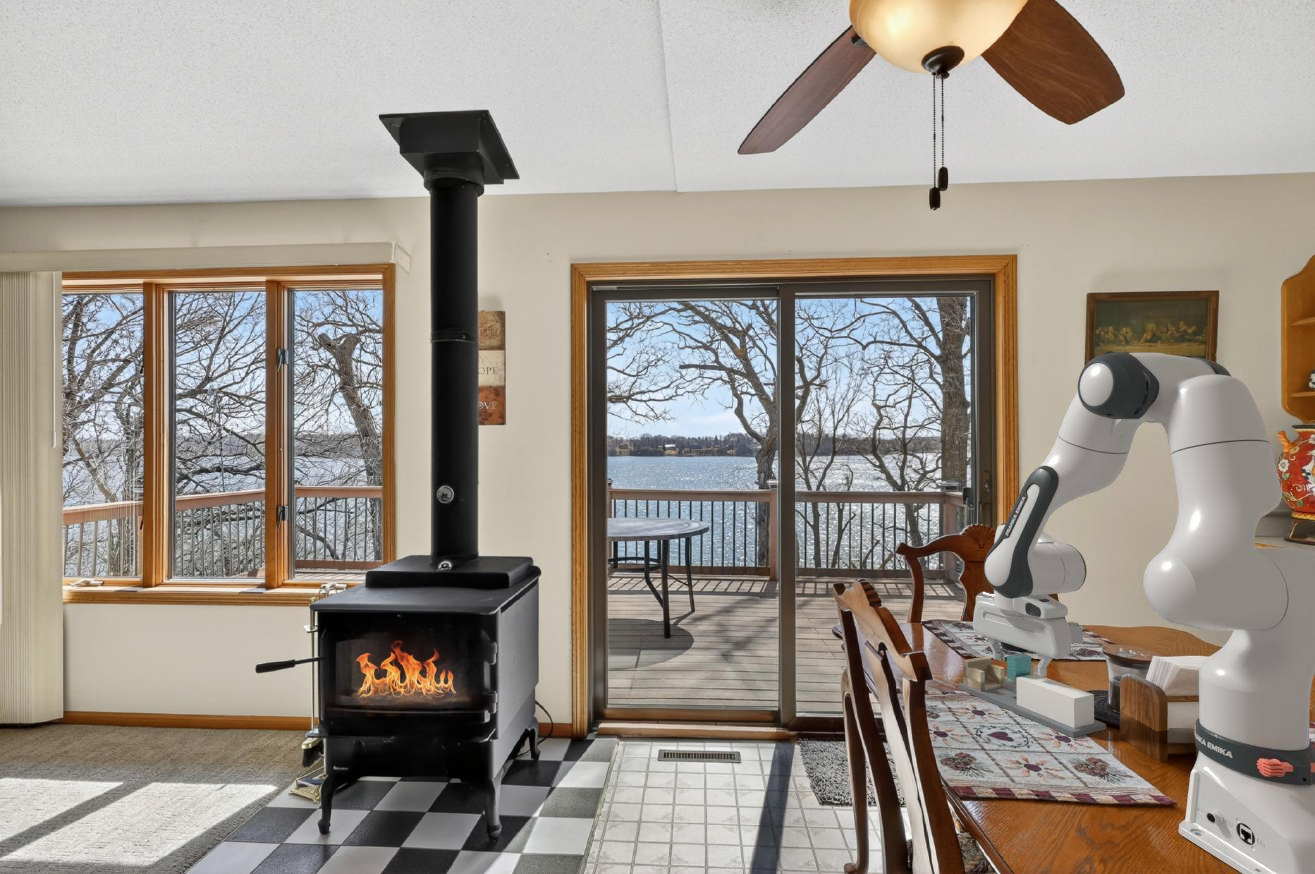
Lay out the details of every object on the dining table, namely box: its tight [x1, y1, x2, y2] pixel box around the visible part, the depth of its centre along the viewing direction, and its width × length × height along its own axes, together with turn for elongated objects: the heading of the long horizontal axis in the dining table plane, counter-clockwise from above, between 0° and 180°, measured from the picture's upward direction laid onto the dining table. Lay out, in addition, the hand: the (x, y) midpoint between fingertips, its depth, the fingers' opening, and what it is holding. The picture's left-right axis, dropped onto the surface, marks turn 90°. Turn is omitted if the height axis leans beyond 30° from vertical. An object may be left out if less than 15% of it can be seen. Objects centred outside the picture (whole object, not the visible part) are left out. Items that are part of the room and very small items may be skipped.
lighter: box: [1068, 621, 1084, 644], centre depth 178 cm, size 7×2×8 cm, turn 63°
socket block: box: [962, 656, 1006, 691], centre depth 143 cm, size 4×7×5 cm, turn 112°
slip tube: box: [1003, 652, 1032, 694], centre depth 130 cm, size 15×4×8 cm, turn 22°
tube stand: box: [957, 673, 1107, 738], centre depth 133 cm, size 26×9×6 cm, turn 22°
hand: (1018, 667), depth 135 cm, fingers open, 8 cm apart
